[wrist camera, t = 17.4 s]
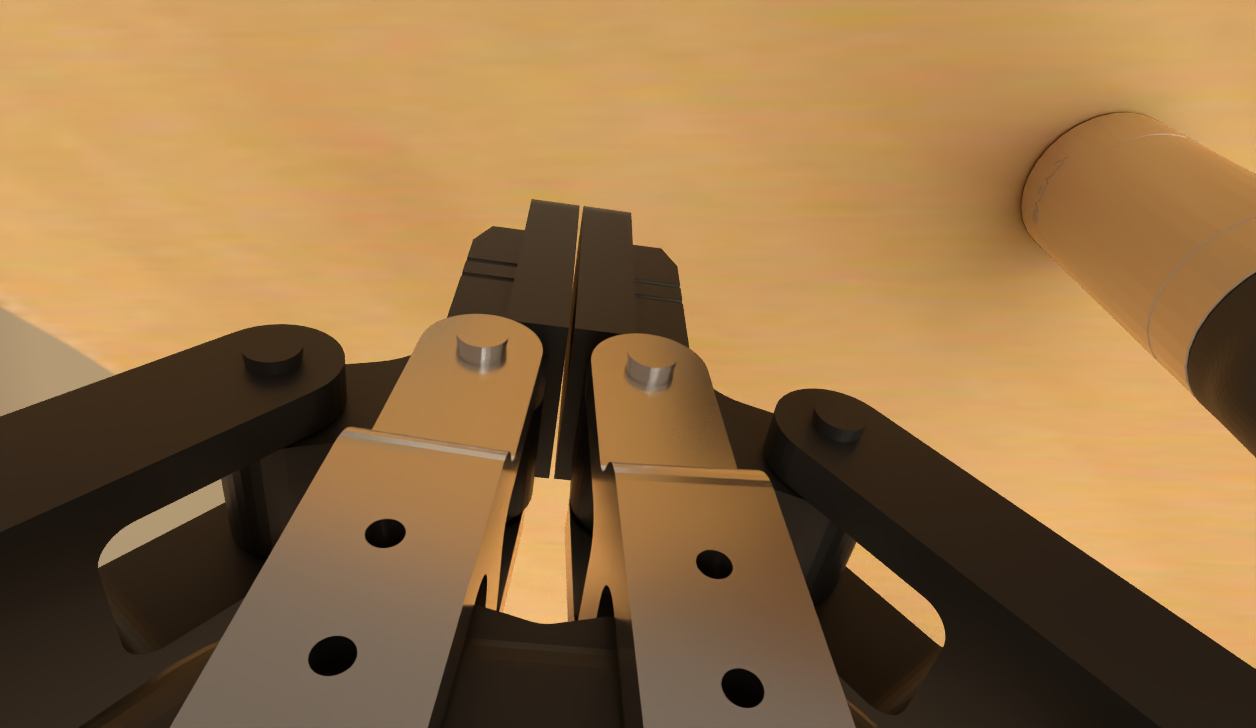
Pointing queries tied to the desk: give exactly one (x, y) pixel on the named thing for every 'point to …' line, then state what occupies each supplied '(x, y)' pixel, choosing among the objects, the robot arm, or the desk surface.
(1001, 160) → the desk surface
